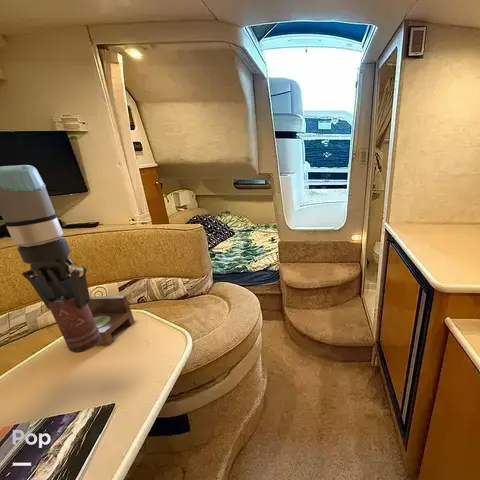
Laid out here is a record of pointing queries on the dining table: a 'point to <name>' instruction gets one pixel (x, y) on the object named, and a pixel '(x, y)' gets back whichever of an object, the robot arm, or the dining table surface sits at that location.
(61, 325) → the can
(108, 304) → the green-ringed wooden stand
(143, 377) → the dining table surface
